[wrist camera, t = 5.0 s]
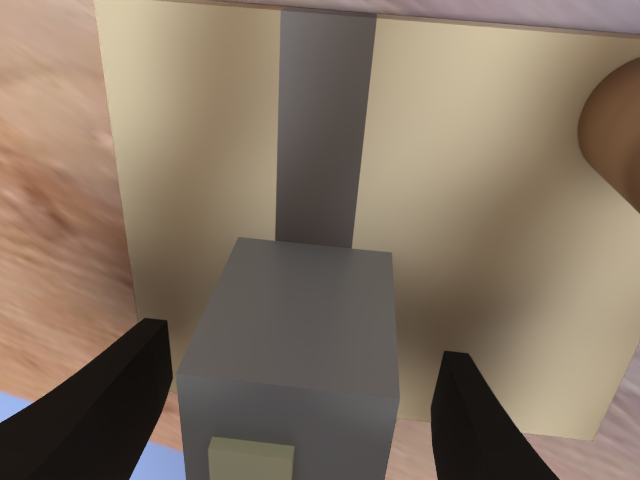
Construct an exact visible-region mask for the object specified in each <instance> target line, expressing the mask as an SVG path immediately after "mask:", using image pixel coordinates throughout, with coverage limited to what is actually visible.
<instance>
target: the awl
mask: <svg viewBox="0 0 640 480" xmlns="http://www.w3.org/2000/svg"><path fill="white" fill-rule="evenodd" d="M578 141H579V146H580V149H581V152H582V154H583V156H584V158H585V159H586V161H587V162H588V163H589V165H590V166H591V167H592V168H593V169H594V170H595V171H596V172H597V173H598V174H599V175H600V176H601V177H602V178H603V179H604V180H605V181H607V182H608V183H609V184H610V185H611V186H612V187H613V188H614V189H615V190H616V191H617V192H618V193H619V194H620V195H621V196H622V197H623V198H624V199H625V200H626V201H627V202H628V203H629V204H630V205H631V206H632V207H633V208H634V209H635V210H636V211H637V212H638V213H639V214H640V57H639V58H637V59H634V60H632V61H630V62H628V63H626V64H624V65H622V66H621V67H619V68H618V69H616V70H615V71H613V72H612V73H611V74H609V75H608V76H607V77H606V78H605V79H604V80H603V81H602V82H601V83H600V84H599V85H598V86H597V87H596V89H595V90H594V91H593V92H592V94H591V95H590V97H589V99H588V100H587V102H586V104H585V106H584V108H583V111H582V114H581V117H580V121H579V126H578Z"/></svg>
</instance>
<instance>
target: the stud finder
mask: <svg viewBox="0 0 640 480" xmlns="http://www.w3.org/2000/svg"><path fill="white" fill-rule="evenodd" d="M176 381H177V391H178V402H179V412H180V422H181V432H182V442H183V452H184V461H185V472H186V480H384V479H385V474H386V469H387V464H388V459H389V453H390V448H391V443H392V438H393V433H394V428H395V423H396V418H397V412H398V407H399V402H400V388H399V370H398V353H397V335H396V317H395V300H394V282H393V264H392V252H382V251H372V250H362V249H352V248H342V247H332V246H322V245H312V244H302V243H292V242H282V241H272V240H262V239H252V238H243V237H238V239H237V241H236V243H235V246H234V248H233V250H232V252H231V254H230V256H229V259H228V261H227V263H226V265H225V267H224V270H223V272H222V274H221V276H220V278H219V280H218V283H217V285H216V287H215V289H214V291H213V293H212V296H211V298H210V300H209V302H208V304H207V307H206V309H205V311H204V313H203V315H202V317H201V320H200V322H199V324H198V326H197V328H196V331H195V333H194V335H193V337H192V339H191V341H190V344H189V346H188V348H187V350H186V352H185V354H184V357H183V359H182V361H181V363H180V365H179V368H178V370H177V372H176Z"/></svg>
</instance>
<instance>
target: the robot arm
mask: <svg viewBox="0 0 640 480" xmlns="http://www.w3.org/2000/svg"><path fill="white" fill-rule="evenodd" d="M172 380H173V371H172V361H171V351H170V341H169V332H168V322H167V320H161V319H151V318H144V319H142V320H141V321H140V322H139V323H137V324H136V325H135V326H134V327H132V328H131V329H130V330H129V331H128V332H126V333H125V334H124V335H123V336H122V337H120V338H119V339H118V340H117V341H116V342H114V343H113V344H112V345H111V346H109V347H108V348H107V349H106V350H105V351H103V352H102V353H101V354H100V355H98V356H97V357H96V358H95V359H93V360H92V361H91V362H90V363H88V364H87V365H86V366H84V367H83V368H82V369H81V370H79V371H78V372H77V373H75V374H74V375H73V376H71V377H70V378H68V379H67V380H66V381H64V382H63V383H62V384H60V385H59V386H57V387H56V388H55V389H53V390H52V391H50V392H49V393H48V394H46V395H45V396H43V397H42V398H40V399H38V400H37V401H35V402H34V403H32V404H31V405H29V406H28V407H26V408H24V409H23V410H21V411H19V412H18V413H16V414H14V415H13V416H11V417H10V418H8V419H6V420H4V421H2V422H1V423H0V480H129V479H130V477H131V475H132V473H133V471H134V469H135V467H136V464H137V462H138V460H139V458H140V456H141V454H142V452H143V450H144V448H145V446H146V444H147V442H148V440H149V438H150V436H151V434H152V432H153V430H154V428H155V426H156V424H157V421H158V419H159V417H160V415H161V413H162V410H163V407H164V404H165V401H166V399H167V396H168V393H169V390H170V386H171V383H172ZM431 431H432V447H433V453H434V459H435V465H436V471H437V477H438V480H560V479H559V478H558V477H557V476H556V475H555V474H554V473H553V472H552V470H551V469H550V468H549V467H548V466H547V465H546V463H545V462H544V461H543V460H542V459H541V457H540V456H539V455H538V454H537V452H536V451H535V450H534V449H533V447H532V446H531V445H530V444H529V442H528V441H527V440H526V438H525V437H524V436H523V434H522V433H521V432H520V430H519V429H518V428H517V426H516V425H515V424H514V422H513V421H512V419H511V418H510V416H509V415H508V414H507V412H506V411H505V409H504V408H503V406H502V405H501V404H500V402H499V401H498V399H497V398H496V396H495V394H494V393H493V391H492V390H491V388H490V387H489V385H488V384H487V382H486V380H485V379H484V377H483V375H482V374H481V372H480V371H479V369H478V367H477V366H476V364H475V362H474V361H473V359H472V357H471V356H470V355H469V353H463V352H454V351H444V353H443V357H442V361H441V365H440V370H439V374H438V378H437V382H436V386H435V391H434V395H433V399H432V403H431Z"/></svg>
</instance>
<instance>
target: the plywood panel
mask: <svg viewBox="0 0 640 480" xmlns="http://www.w3.org/2000/svg"><path fill="white" fill-rule="evenodd" d="M94 7H95V14H96V21H97V29H98V36H99V43H100V50H101V58H102V65H103V72H104V79H105V86H106V94H107V101H108V108H109V115H110V123H111V130H112V137H113V144H114V152H115V159H116V166H117V173H118V181H119V188H120V195H121V202H122V210H123V217H124V224H125V231H126V239H127V246H128V253H129V260H130V268H131V275H132V282H133V289H134V297H135V304H136V311H137V318H138V323H139V322H140V321H141V320H142V319H144V318H151V319H161V320H167V322H168V332H169V341H170V351H171V361H172V371H173V380H172V383H171V386H170V390H169V392H172V393H178V391H177V381H176V372H177V370H178V368H179V365H180V363H181V361H182V359H183V357H184V354H185V352H186V350H187V348H188V346H189V344H190V341H191V339H192V337H193V335H194V333H195V331H196V328H197V326H198V324H199V322H200V320H201V317H202V315H203V313H204V311H205V309H206V307H207V304H208V302H209V300H210V298H211V296H212V293H213V291H214V289H215V287H216V285H217V283H218V280H219V278H220V276H221V274H222V272H223V270H224V267H225V265H226V263H227V261H228V259H229V256H230V254H231V252H232V250H233V248H234V246H235V243H236V241H237V239H238V237H243V238H252V239H262V240H272V241H282V242H292V243H302V244H312V245H322V246H332V247H342V248H352V249H362V250H372V251H382V252H392V264H393V282H394V300H395V317H396V335H397V353H398V370H399V388H400V402H399V407H398V412H397V418H398V419H407V420H416V421H425V422H431V403H432V399H433V395H434V391H435V386H436V382H437V378H438V374H439V370H440V365H441V361H442V357H443V353H444V351H454V352H463V353H469V355H470V356H471V357H472V359H473V361H474V362H475V364H476V366H477V367H478V369H479V371H480V372H481V374H482V375H483V377H484V379H485V380H486V382H487V384H488V385H489V387H490V388H491V390H492V391H493V393H494V394H495V396H496V398H497V399H498V401H499V402H500V404H501V405H502V406H503V408H504V409H505V411H506V412H507V414H508V415H509V416H510V418H511V419H512V421H513V422H514V424H515V425H516V426H517V428H518V429H519V430H520V432H521V433H529V434H538V435H546V436H555V437H564V438H572V439H581V440H590V441H593V439H594V437H595V435H596V433H597V431H598V429H599V427H600V425H601V423H602V420H603V418H604V416H605V414H606V412H607V410H608V408H609V406H610V404H611V402H612V400H613V397H614V395H615V393H616V391H617V389H618V387H619V385H620V383H621V381H622V379H623V376H624V374H625V372H626V370H627V368H628V366H629V364H630V362H631V360H632V358H633V355H634V353H635V351H636V349H637V347H638V345H639V343H640V214H639V213H638V212H637V211H636V210H635V209H634V208H633V207H632V206H631V205H630V204H629V203H628V202H627V201H626V200H625V199H624V198H623V197H622V196H621V195H620V194H619V193H618V192H617V191H616V190H615V189H614V188H613V187H612V186H611V185H610V184H609V183H608V182H607V181H605V180H604V179H603V178H602V177H601V176H600V175H599V174H598V173H597V172H596V171H595V170H594V169H593V168H592V167H591V166H590V165H589V163H588V162H587V161H586V159H585V158H584V156H583V154H582V152H581V149H580V146H579V141H578V126H579V121H580V117H581V114H582V111H583V108H584V106H585V104H586V102H587V100H588V99H589V97H590V95H591V94H592V92H593V91H594V90H595V89H596V87H597V86H598V85H599V84H600V83H601V82H602V81H603V80H604V79H605V78H606V77H607V76H608V75H609V74H611V73H612V72H613V71H615V70H616V69H618V68H619V67H621V66H622V65H624V64H626V63H628V62H630V61H632V60H634V59H637V58H639V57H640V35H638V34H626V33H613V32H601V31H588V30H576V29H563V28H551V27H538V26H525V25H513V24H500V23H488V22H475V21H463V20H450V19H438V18H425V17H413V16H400V15H388V14H375V13H362V12H350V11H337V10H325V9H312V8H300V7H287V6H275V5H262V4H250V3H237V2H225V1H212V0H94Z"/></svg>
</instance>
